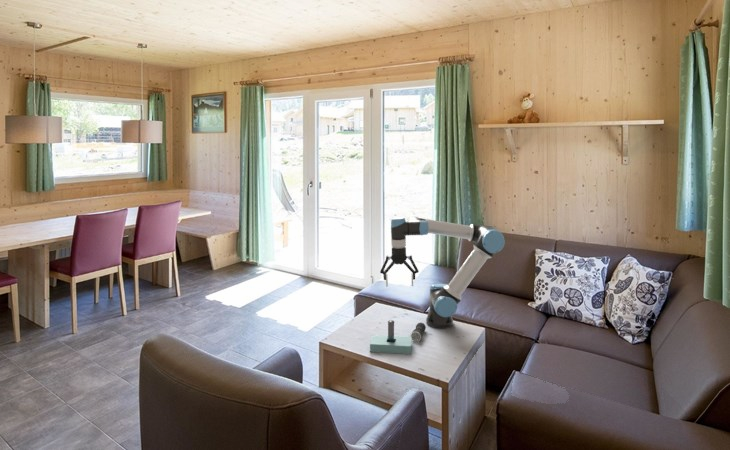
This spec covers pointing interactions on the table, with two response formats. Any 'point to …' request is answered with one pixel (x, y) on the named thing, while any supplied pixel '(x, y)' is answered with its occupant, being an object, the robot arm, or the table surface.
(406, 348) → the hole block
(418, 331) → the flashlight
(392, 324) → the peg
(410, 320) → the table surface
